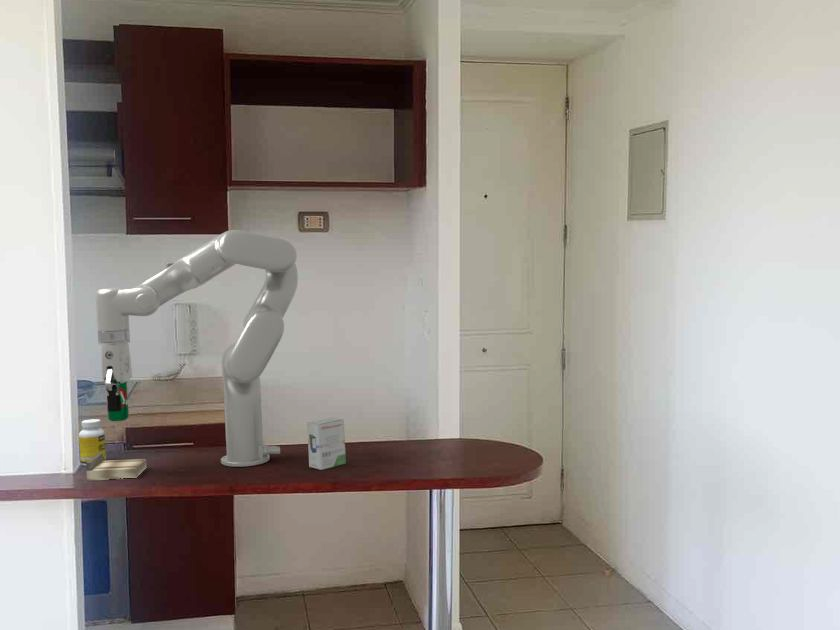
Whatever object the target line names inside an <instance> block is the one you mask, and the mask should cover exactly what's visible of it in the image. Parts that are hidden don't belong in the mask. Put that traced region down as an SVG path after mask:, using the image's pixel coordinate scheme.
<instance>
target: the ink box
mask: <svg viewBox="0 0 840 630" xmlns="http://www.w3.org/2000/svg"><path fill="white" fill-rule="evenodd" d="M344 421H345V420H344V419H343V418H338V417H337V418H335V417H329V418H322V419H318V420H311V421H307V424H306V425H307V427H306V428H307V442H308V443H307V445H308V446H307V447H308V466H309V468H313V469H316V470H319V471H321V470H322V471H323V470H326V469H330V468H335V467H338V466H342V465H346V464H347V460H346V459H347V458H346V457H347V456H346V442H345V441H346V439H345V437H346V436H345V424H344V423H345V422H344Z"/></svg>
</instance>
